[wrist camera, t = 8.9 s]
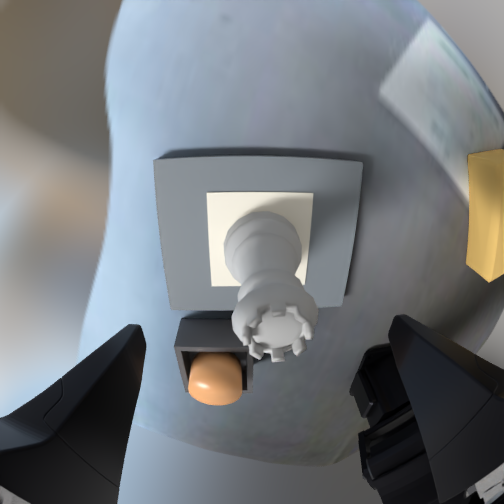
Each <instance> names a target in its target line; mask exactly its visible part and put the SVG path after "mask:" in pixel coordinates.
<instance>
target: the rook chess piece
mask: <svg viewBox="0 0 504 504" xmlns="http://www.w3.org/2000/svg"><path fill="white" fill-rule="evenodd" d="M223 245H224V256H225V264H226V266H227V268H228V270H229V271H230V273H231V275H232V276H233V278H234V279H235V280H237V281H238V282H239V283H240V284H241V287H240V290H239V292H238V303H237V304H236V307H235V309H234V312H233V314H232V317H231V318H232V326H233V331H234V332H235V334H236V335H237V336H238V338H239V339H240V341H242V342H243V346H245V345H248V346H249V354H250V355H252V356H253V357H255V358H257V359H259V360H260V359H261V358H262V357H263V356H264V353H263V352H265V353H270V354H271V359H272V362H280V361H285V358H284V352H286V351H289V350H292V349H293V353H294V354H295V355H296V356H299V355H300V354H301V353H303V352H304V351H305V350H306V349H307V346H306V343H305V340H306V339H313V337H314V327H315V326H316V324H317V319H318V308H317V305H316V303H315V301H314V298H313V297H312V296H311V295H309V294H308V293H307V292H306V291H305V290H304V287H303V285H302V283H301V281H300V279H299V278H297V277H296V276H295V273H296V271H297V269H298V267H299V265H300V263H301V254H302V245H301V242H300V238H299V236H298V234H297V231H296V229H295V227H294V225H293V224H291V223H290V222H289V221H288V220H287V219H286V218H285V217H284V216H281V215H279V214H276V213H273V212H270V211H262V212H252V213H250V214H248V215H245V216H243V217H241V218H239V219H238V220H237V221H236V222H235V223H234V224H233V225H232V226H231V227H230V228H229V230H228V232H227V235H226V238H225V241H224V244H223Z"/></svg>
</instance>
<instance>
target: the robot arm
mask: <svg viewBox="0 0 504 504" xmlns="http://www.w3.org/2000/svg"><path fill="white" fill-rule="evenodd" d="M388 338H389V341H390V345H391V347H387V348H382V349H375V350H370V351H367V352H366V353H365V354H364V356H363V359H362V361H361V364H360V366H359V369H358V371H357V373H356V375H355V378H354V380H353V382H352V385H351V388H350V391H349V392H350V395H351V396H354V397H355V400H356V403H357V406H358V408H359V411H360V414H361V417H363V418H367V420H368V422H369V425H370V428H369V429H367V430H365V431H362V432H360V433H358V436H359V449H360V457H361V465H362V473H363V479H364V480H367V482H368V483H369V485H370V486H371V487H372V488H373V489H374V490H377V491H378V493H379V495H380V497H381V499H382V502H383V504H504V369H501V368H500V367H498V366H496V365H494V364H492V363H490V362H488V361H486V360H484V359H483V358H481V357H479V356H477V355H476V354H474V353H472V352H471V351H469V350H467V349H465V348H464V347H462V346H460V345H458V344H457V343H455V342H453V341H451V340H450V339H448V338H446V337H444V336H443V335H441V334H439V333H437V332H436V331H434V330H432V329H430V328H429V327H427V326H425V325H423V324H422V323H420V322H418V321H416V320H414V319H413V318H411V317H409V316H407V315H405V314H402V315H396V316H395V317H394V319H393V322H392V324H391V327H390V330H389V333H388ZM145 353H146V341H145V338H144V334H143V331H142V328H141V326H140V325H138V324H128V325H127V326H126V327H124V328H123V329H122V330H121V331H119V332H118V333H117V334H115V335H114V336H113V337H112V338H110V339H109V340H108V341H106V342H105V343H104V344H103V345H101V346H100V347H99V348H98V349H96V350H95V351H94V352H92V353H91V354H90V355H89V356H87V357H86V358H85V359H84V360H82V361H81V362H80V363H79V364H77V365H76V366H75V367H74V368H72V369H71V370H70V371H69V372H67V373H66V374H65V375H64V376H62V378H60V379H59V380H57V381H56V382H55V383H54V384H52V385H51V386H50V387H49V388H47V389H46V390H45V391H43V392H42V393H40V394H39V395H37V396H36V397H35V398H33V399H32V400H30V401H29V402H27V403H26V404H24V405H23V406H21V407H20V408H18V409H17V410H15V411H13V412H12V413H10V414H9V415H7V416H5V417H1V418H0V504H117V500H118V495H119V487H120V481H121V474H122V469H123V464H124V458H125V453H126V448H127V443H128V438H129V434H130V429H131V425H132V420H133V416H134V412H135V407H136V403H137V399H138V395H139V391H140V387H141V381H142V374H143V367H144V360H145ZM472 485H475V487H476V490H477V491H475V492H474V493H472V494H471V495H470V496H469V494H468V492H467V489H468V488H469V487H470V486H472Z"/></svg>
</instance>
